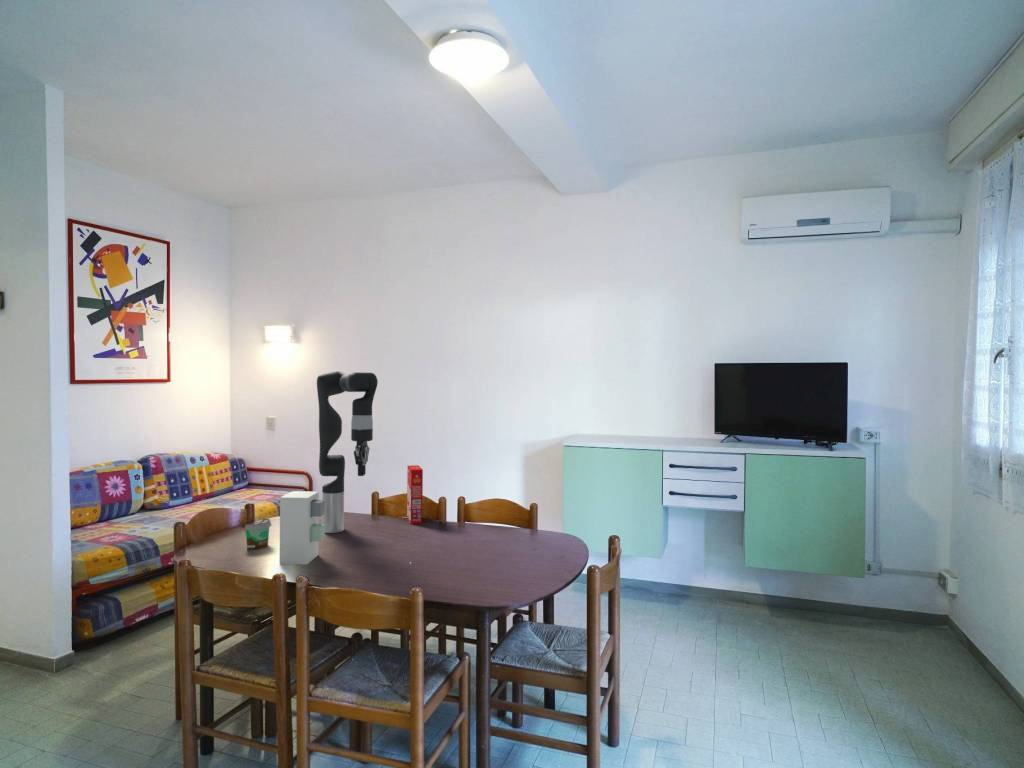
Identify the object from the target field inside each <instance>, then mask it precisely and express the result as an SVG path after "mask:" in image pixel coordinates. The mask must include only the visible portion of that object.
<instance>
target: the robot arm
mask: <svg viewBox="0 0 1024 768" xmlns="http://www.w3.org/2000/svg"><path fill="white" fill-rule="evenodd" d="M378 384H379V382H378V378H377V376H376V374H375V373H374V372H364V371H363V372H357V371H356V372H355V371H354V372H350V373H345V372H342V371H330V372H327V373H321V374H319V375H318V376H317V379H316V390H317V400H318V411H319V412H318V433H319V434H318V436H319V458H318V460H319V461H318V470H319V471H318V472H319V475H320V476H321V477H336V478H335V479H333V480H332V481H331V482H327V483H325V484H324V485H322V487H321V489H322V490H321V491H322V493H321V495H322V497H321V500H325V514H324V515H322V516H321V524H325V534H336V533H341V532H343V531H344V530H345V526H344V525H345V470H346V460H345V459H346V458H345V456H344V455H343V454H329V452H330V450H331V448H333V446H334V445H335V444H336V443H337V441H338V440H339V439H340V437H341V436H342V434H343V433H342V431H343V429H342V428H343V424H342V423H343V420H342V418H341V417H342V416H340V414H339V413H338V412H337V410H336V409H334V407H333V406H332V404H330V401H329V398H330V397H331V396H336V395H340V394H343V393H345V392H347V393H361V392H362V393H363V392H364V394H363V396H362V397H359V398H358V397H357V398H355V399H354V400H352V407H351V408H352V409H351V413H352V414H351V427H350V429H351V430H350V432H351V433H350V434H351V436H350V438H351V439H350V441H352V442H355V443H356V446H355V447H354V451H353V456H354V461H355V465H356V466H357V476H358V477H363V476H365V475H366V472H367V471H366V469H367V468H366V465H367V463H368V460H369V453H370V446H369V445H368V442H371V441H373V438H374V436H373V435H374V434H373V432H374V422H373V403H374V398H375V393H376V391H377V387H378Z"/></svg>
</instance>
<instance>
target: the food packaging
mask: <svg viewBox="0 0 1024 768" xmlns="http://www.w3.org/2000/svg"><path fill="white" fill-rule="evenodd" d="M406 470H407V473H406V475H407V476H406V477H407V478H406V479H407V482H406V484H407V486H406V487H407V488H406V489H407V490H406V497H407V498H406V518H407V520H408V521H409V523H410V525H417V524H418V525H419V524H423V494H424V493H423V490H424V489H423V485H424V483H423V478H424V470H423V468H422V467H421V466H420V465H418V464H415V465H413V464H412V465H407V469H406Z"/></svg>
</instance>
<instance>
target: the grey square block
mask: <svg viewBox="0 0 1024 768" xmlns="http://www.w3.org/2000/svg"><path fill="white" fill-rule="evenodd" d="M324 514H325V500H322V499H319V500H313V501H311V516H314V517H321V518H322V515H324Z"/></svg>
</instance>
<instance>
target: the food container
mask: <svg viewBox="0 0 1024 768" xmlns="http://www.w3.org/2000/svg"><path fill="white" fill-rule="evenodd" d="M271 527H272V521H271V520H270V518H265V517H263V518H262V520H261V521H257V522H256V521H255V522H253V523H252V524H251V523H250V524H245V527H244V530H245V533H246V534H245V535H246V536H245V537H246V550H251V551H252V550H262V549H265V548H267V547H268V546H269V537H270V536H269V535H270V528H271Z"/></svg>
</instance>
